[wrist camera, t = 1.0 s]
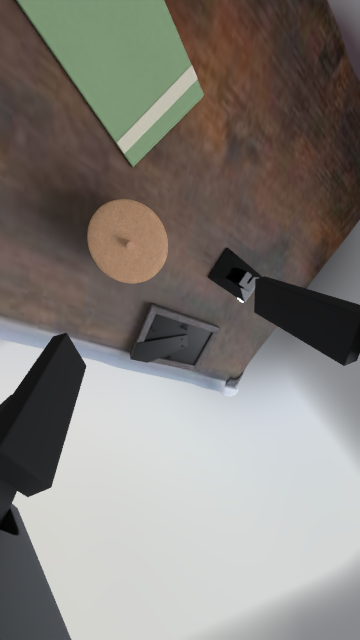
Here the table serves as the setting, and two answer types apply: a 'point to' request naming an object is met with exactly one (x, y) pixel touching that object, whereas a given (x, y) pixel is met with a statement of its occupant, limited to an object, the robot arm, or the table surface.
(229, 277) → the black mounting bracket
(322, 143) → the table surface
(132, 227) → the trinket box
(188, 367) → the picture frame
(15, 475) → the robot arm
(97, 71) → the towel
